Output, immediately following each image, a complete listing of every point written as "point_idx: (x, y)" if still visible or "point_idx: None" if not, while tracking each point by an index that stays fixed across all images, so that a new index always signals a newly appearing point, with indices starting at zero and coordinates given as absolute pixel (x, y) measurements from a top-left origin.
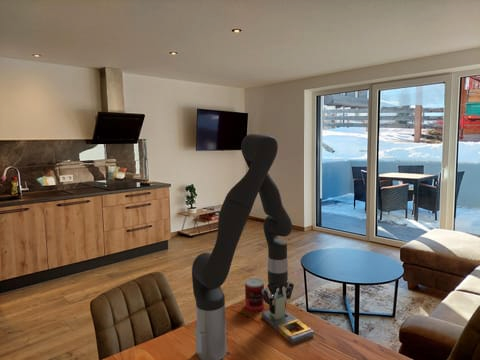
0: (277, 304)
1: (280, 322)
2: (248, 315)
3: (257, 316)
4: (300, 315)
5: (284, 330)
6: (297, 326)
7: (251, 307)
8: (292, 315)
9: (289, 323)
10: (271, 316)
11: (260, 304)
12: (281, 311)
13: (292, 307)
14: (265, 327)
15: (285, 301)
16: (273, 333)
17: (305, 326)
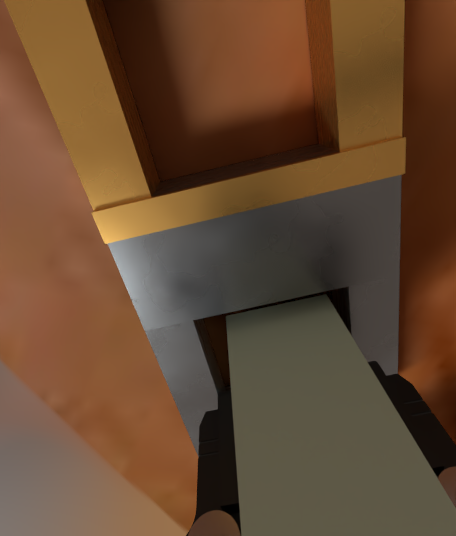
0: (403, 469)
1: (331, 238)
2: (448, 420)
3: None
4: (57, 346)
5: (382, 42)
6: (147, 158)
7: None
8: (146, 326)
9: (247, 178)
10: None
11: None
12: (284, 371)
13: (96, 445)
14: (435, 257)
15: (213, 513)
16: (430, 140)
17: (46, 42)
